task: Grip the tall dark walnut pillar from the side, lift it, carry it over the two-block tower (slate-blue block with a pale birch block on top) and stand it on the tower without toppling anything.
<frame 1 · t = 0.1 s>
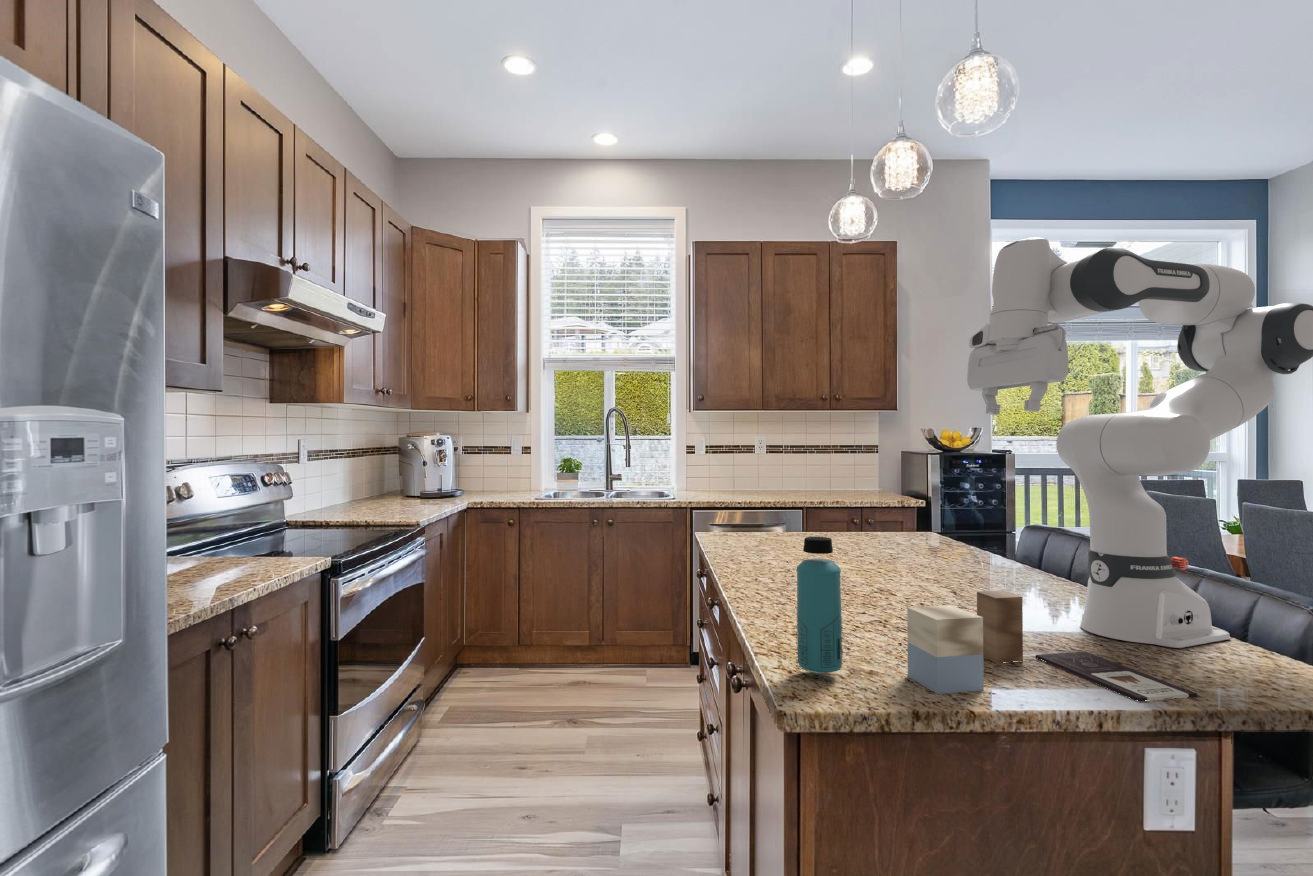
hand: (1011, 412, 113), 39 cm above the countertop, tool pointing down, fingers open, 8 cm apart
beverage bottle: (819, 677, 95), on the countertop
tower top: (944, 648, 93), point 5 cm above the countertop, touching tower base
pillar: (999, 658, 103), on the countertop
tower base: (944, 683, 93), on the countertop, touching tower top
chocolate bar: (1109, 680, 95), on the countertop
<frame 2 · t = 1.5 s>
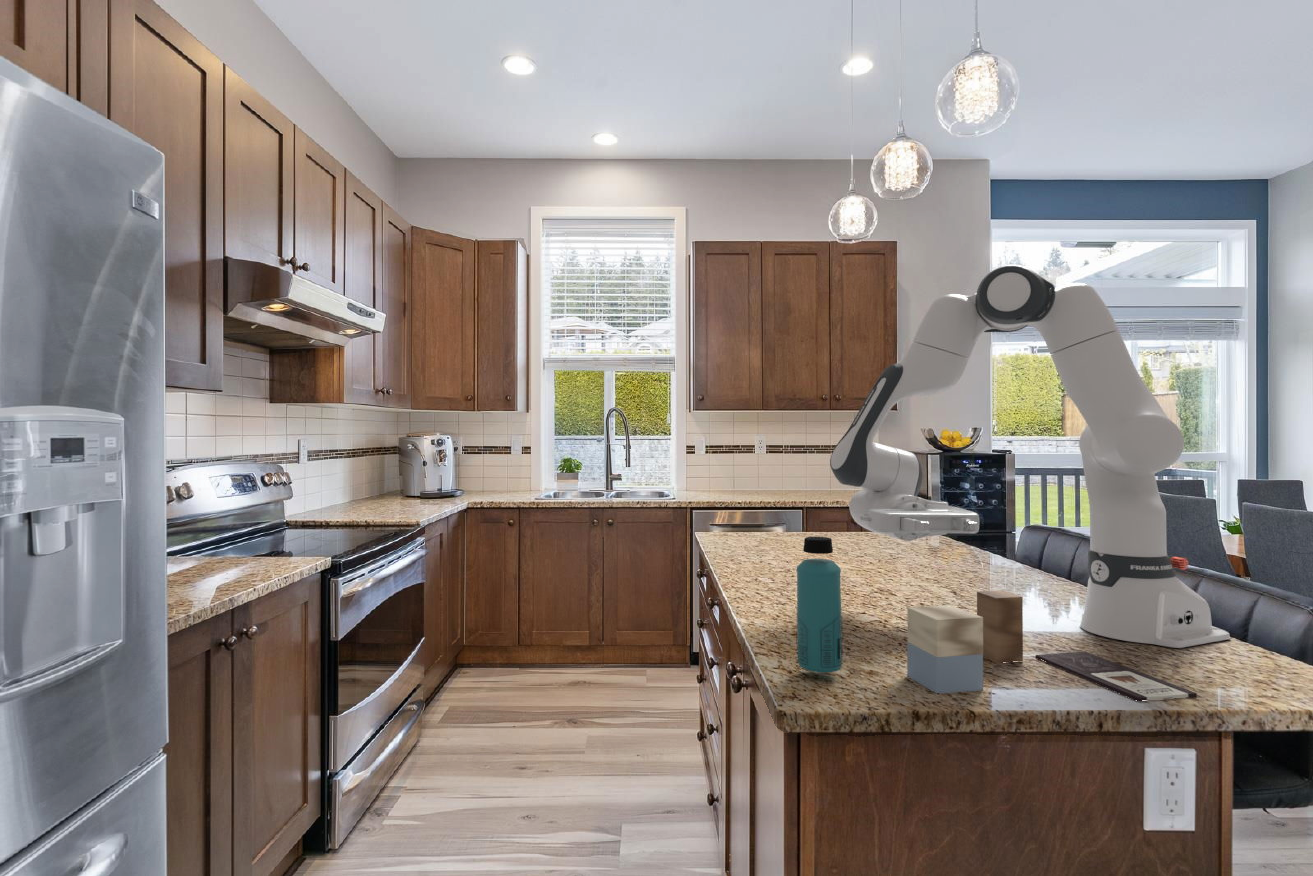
hand: (949, 527, 115), 19 cm above the countertop, tool horizontal, fingers open, 8 cm apart
nothing on the countertop moved.
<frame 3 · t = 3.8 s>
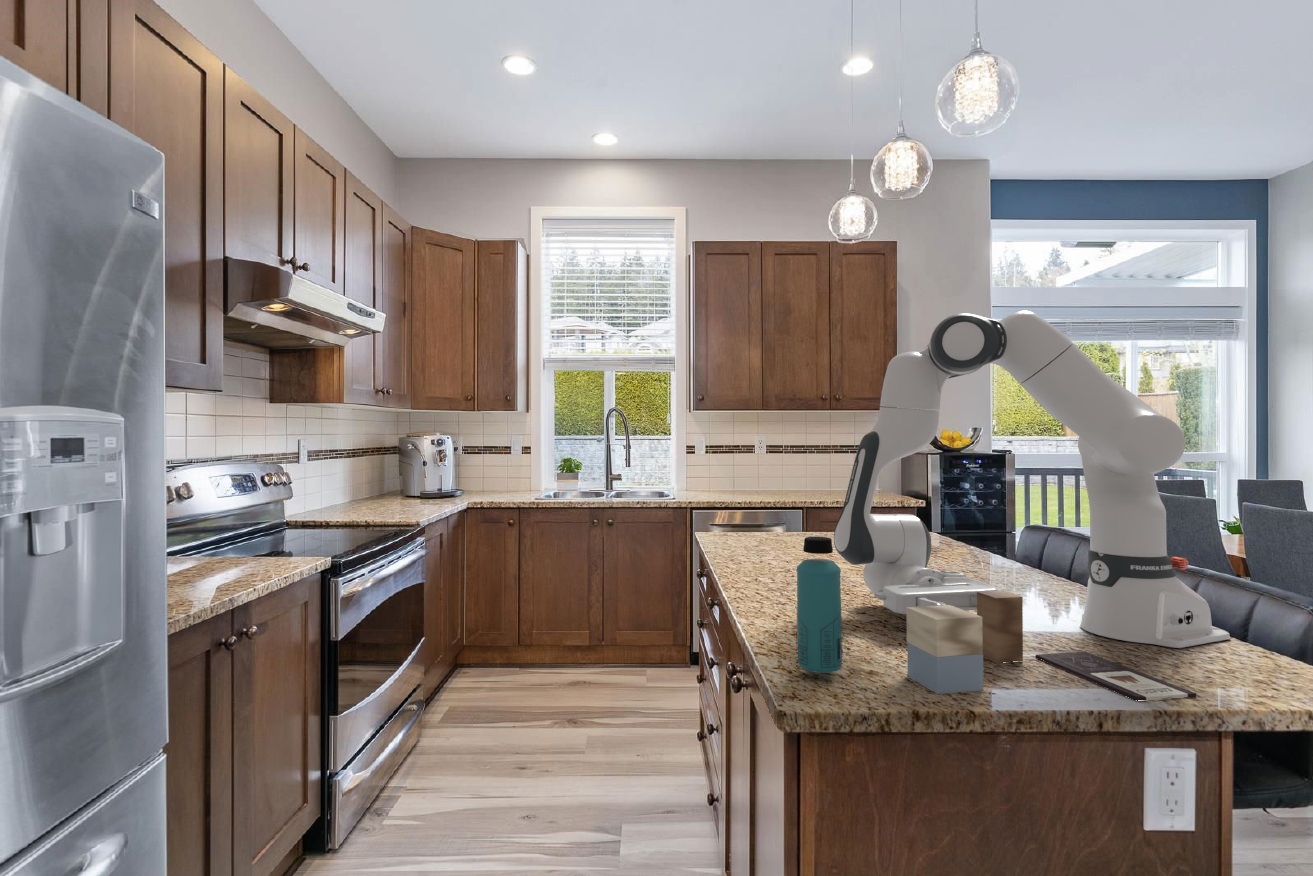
hand: (968, 608, 111), 6 cm above the countertop, tool horizontal, fingers open, 8 cm apart
nothing on the countertop moved.
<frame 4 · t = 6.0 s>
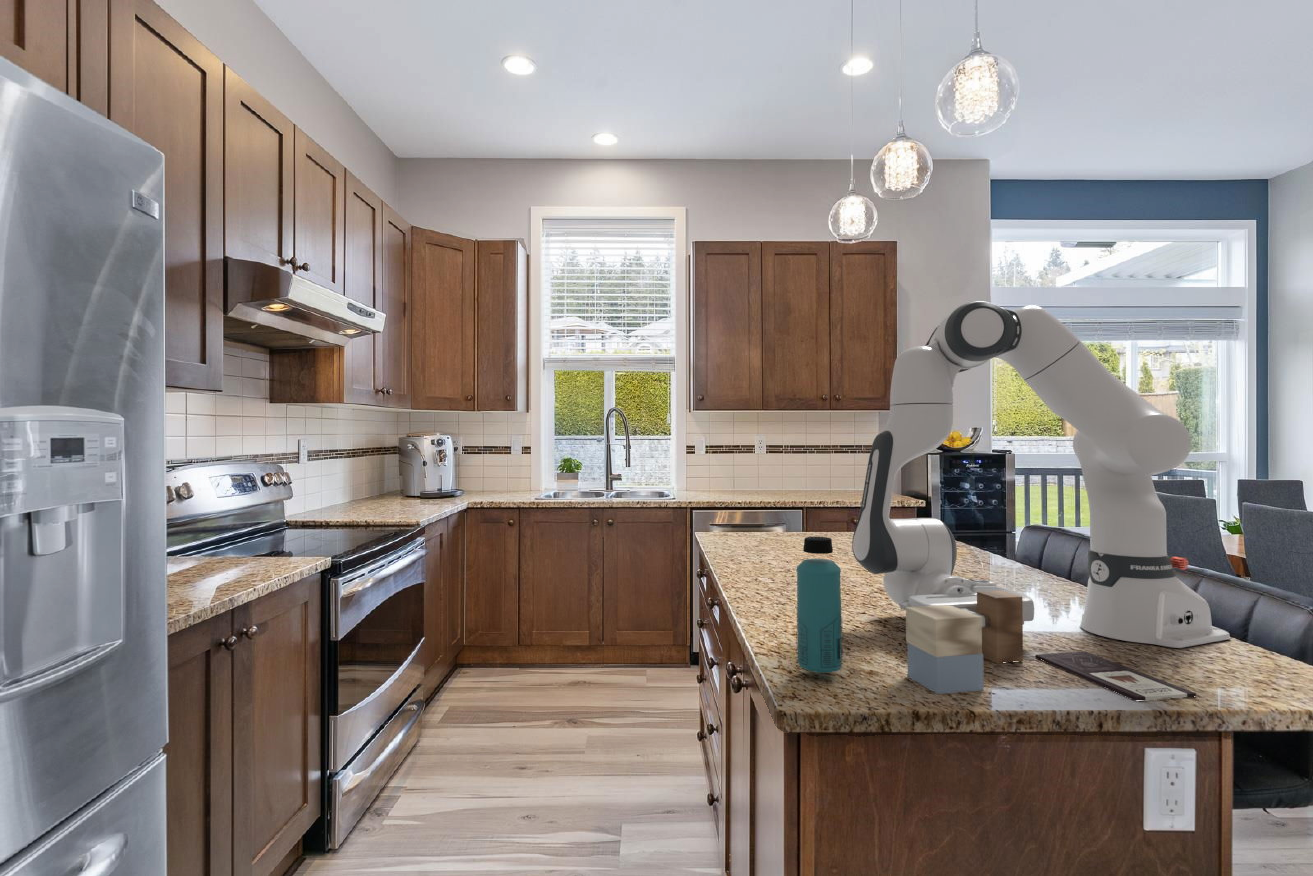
hand: (1003, 621, 102), 6 cm above the countertop, tool horizontal, fingers closed on pillar, 4 cm apart
pillar: (999, 658, 103), on the countertop, touching gripper
everything else where it was.
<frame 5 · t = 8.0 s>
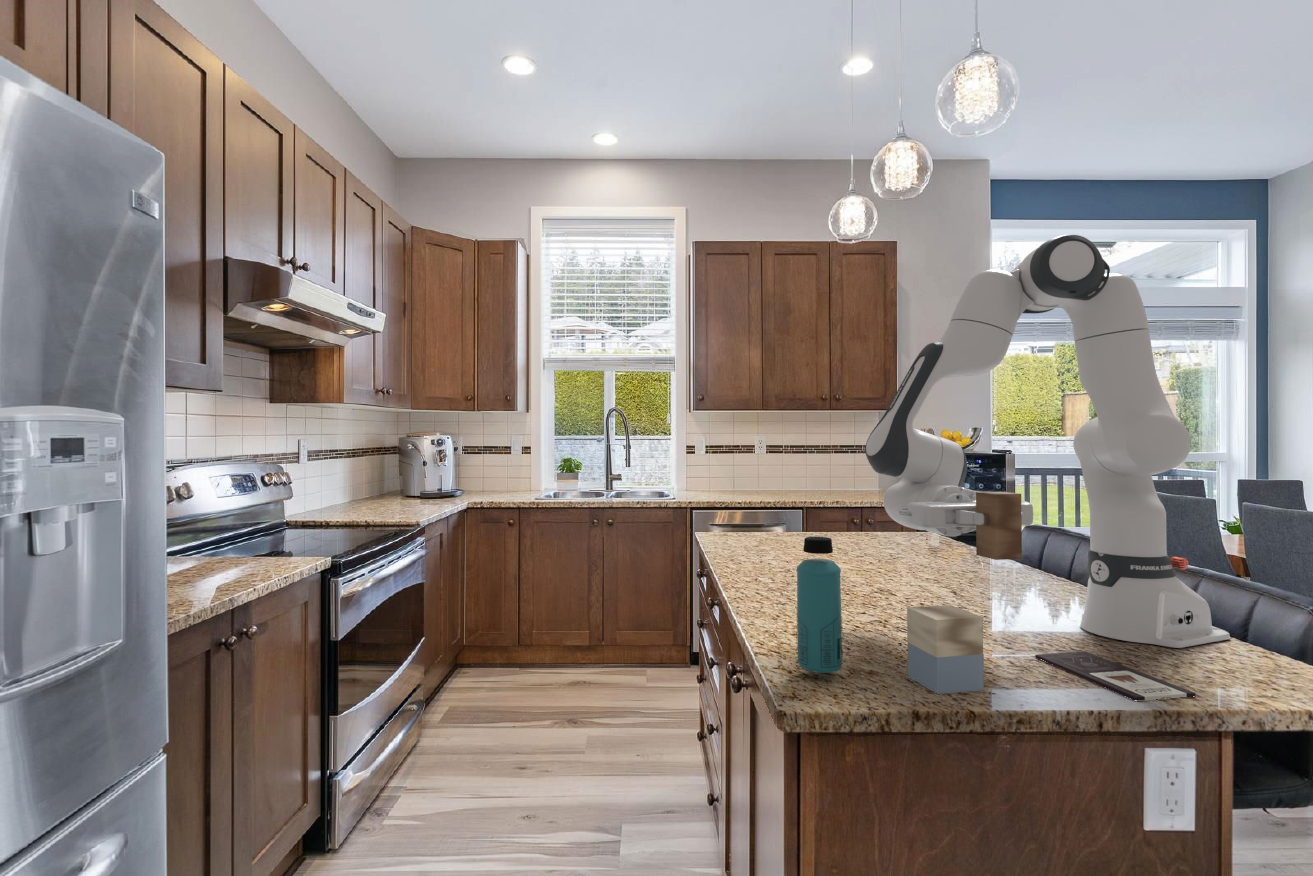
hand: (1002, 518, 103), 22 cm above the countertop, tool horizontal, fingers closed on pillar, 4 cm apart
pillar: (998, 556, 103), point 16 cm above the countertop, touching gripper
everything else where it was.
when the fingers open (17 cm above the countertop, at t = 10.6 s): pillar drops 1 cm, resting on tower top.
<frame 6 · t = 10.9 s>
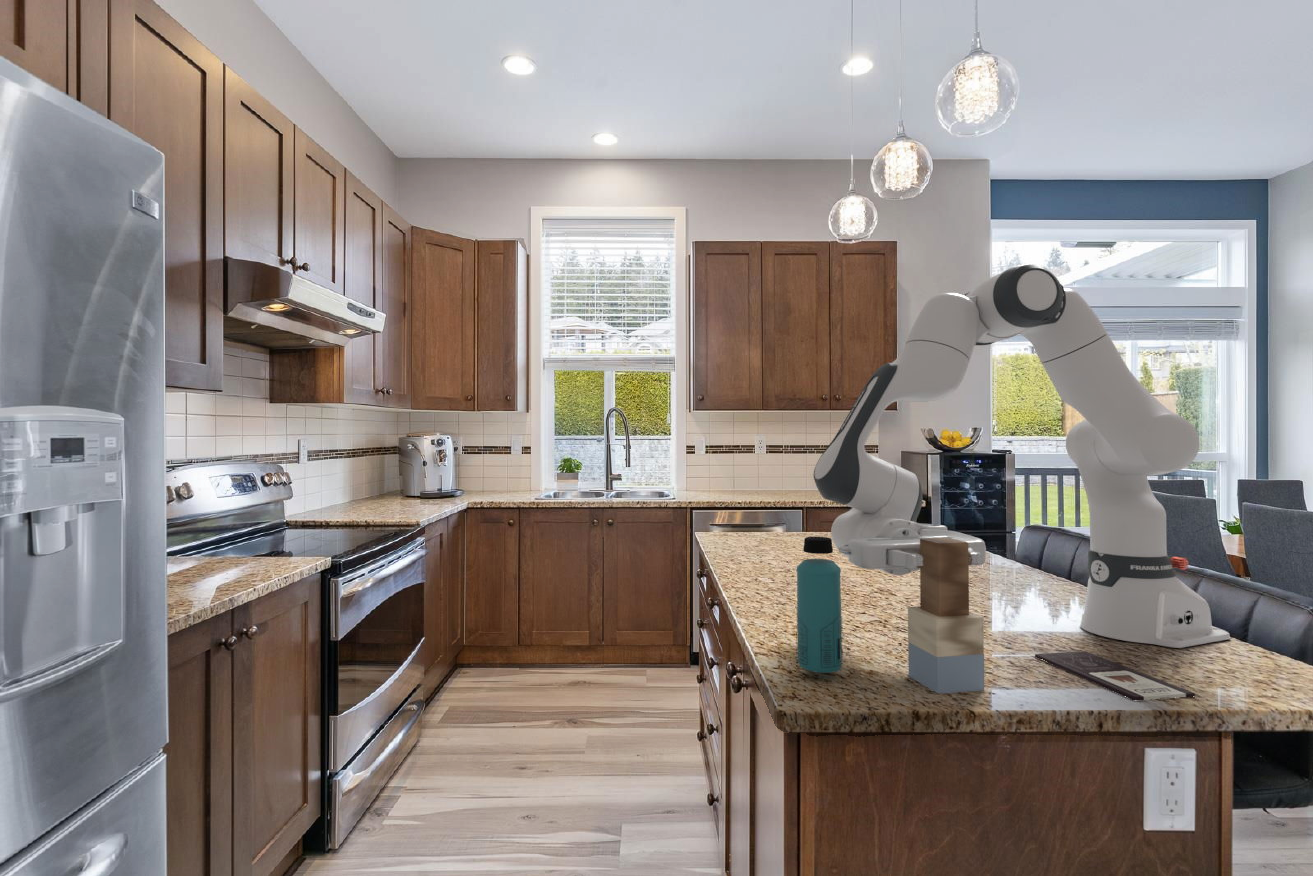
hand: (947, 560, 92), 17 cm above the countertop, tool horizontal, fingers open, 8 cm apart
tower top: (944, 647, 93), point 5 cm above the countertop, touching pillar, tower base
pillar: (944, 612, 93), point 10 cm above the countertop, touching tower top
everything else where it was.
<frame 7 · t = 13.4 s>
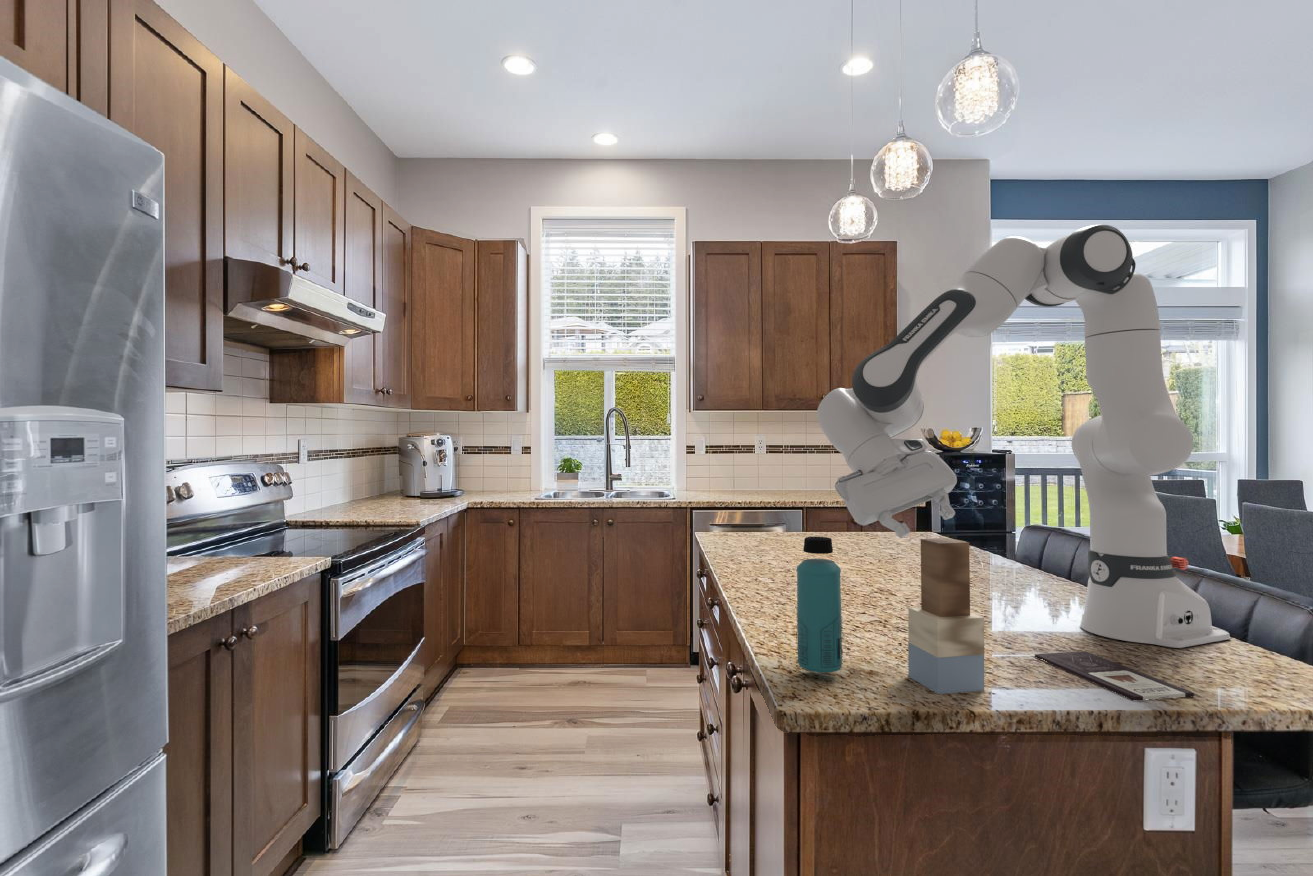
hand: (928, 525, 109), 20 cm above the countertop, tool tilted 45°, fingers open, 8 cm apart
nothing on the countertop moved.
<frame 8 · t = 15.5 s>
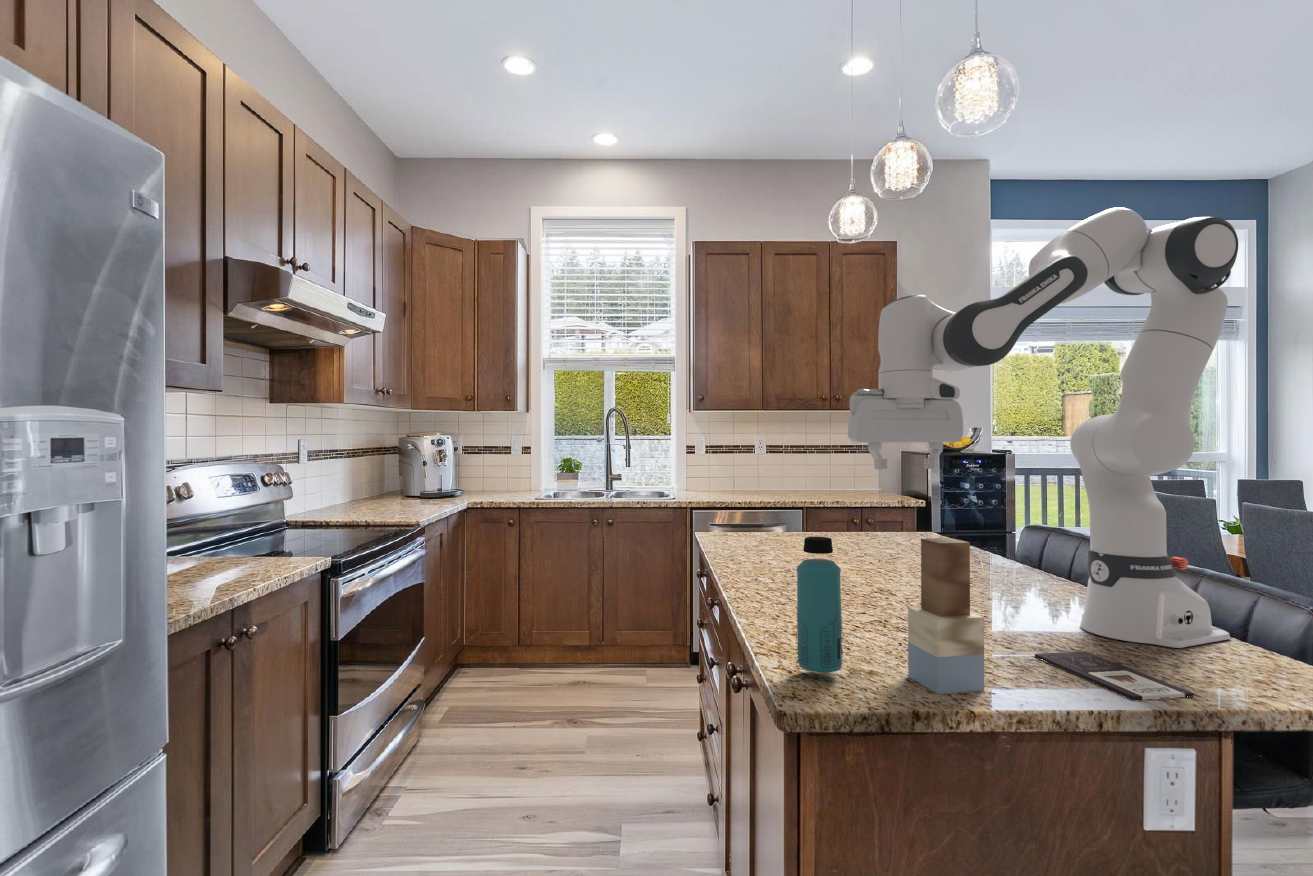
hand: (905, 469, 115), 29 cm above the countertop, tool pointing down, fingers open, 8 cm apart
nothing on the countertop moved.
at the end: pillar 0.1 cm off-centre on the tower top, point 5.0 cm above the tower top's base; pillar tilted 0°; tower top tilted 0° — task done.
